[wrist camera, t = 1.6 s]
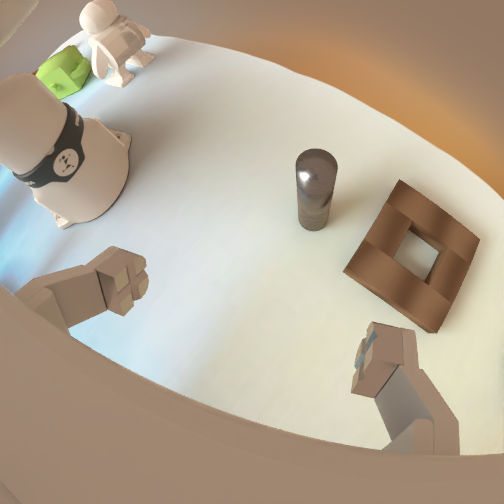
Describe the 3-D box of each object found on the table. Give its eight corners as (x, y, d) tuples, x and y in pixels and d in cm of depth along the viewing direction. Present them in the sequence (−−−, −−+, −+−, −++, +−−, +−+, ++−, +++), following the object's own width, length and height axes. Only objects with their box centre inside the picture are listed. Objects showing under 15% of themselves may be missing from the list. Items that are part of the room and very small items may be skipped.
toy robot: (144, 48, 51) (107, -16, 32) (169, 52, 48) (132, -21, 29) (99, 89, 49) (50, 28, 30) (121, 97, 47) (67, 27, 28)
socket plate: (342, 271, 33) (345, 267, 30) (394, 188, 34) (399, 179, 32) (428, 333, 29) (436, 333, 27) (470, 244, 31) (480, 239, 28)
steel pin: (292, 220, 35) (287, 170, 24) (308, 198, 36) (309, 142, 24) (317, 236, 34) (323, 192, 23) (332, 213, 35) (345, 161, 23)
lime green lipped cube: (37, 115, 53) (15, 95, 44) (50, 88, 55) (31, 68, 46) (89, 91, 50) (66, 65, 41) (101, 64, 53) (82, 38, 44)
